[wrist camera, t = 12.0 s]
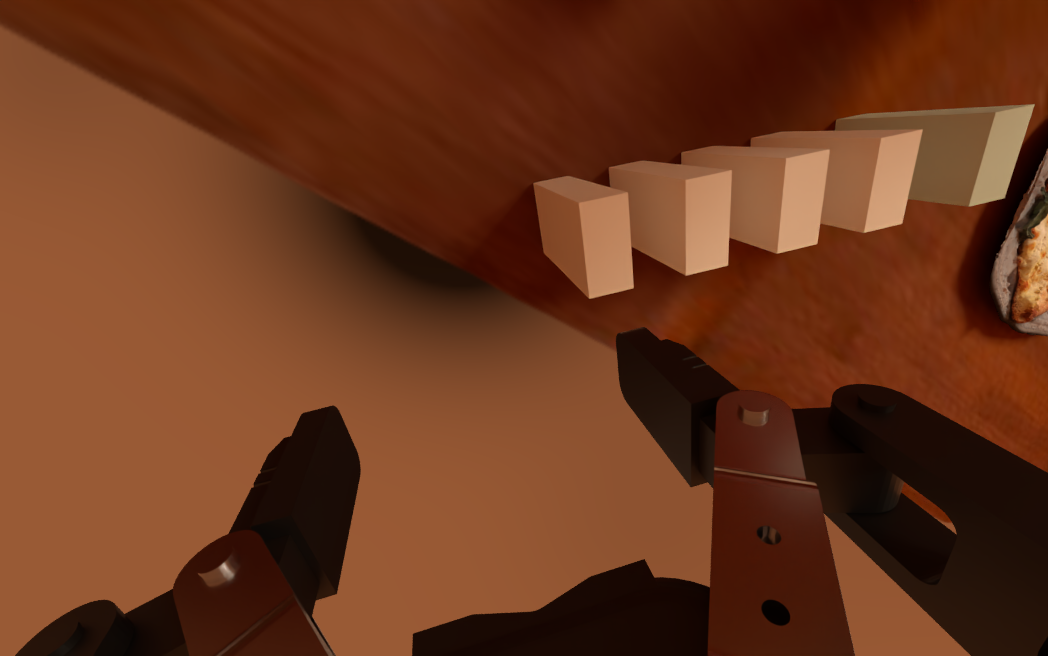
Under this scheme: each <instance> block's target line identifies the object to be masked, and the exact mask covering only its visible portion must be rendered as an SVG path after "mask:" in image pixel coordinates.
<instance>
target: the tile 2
mask: <svg viewBox="0 0 1048 656" xmlns="http://www.w3.org/2000/svg"><path fill="white" fill-rule="evenodd" d="M609 178H610V188H614V189H617V190H621V191H625V192H628V200H629V217H630V234H631V246H632V247H633V248H635V249H637V250H639V251H641V252H643V253H645V254H646V255H648V256H650V257H652V258H654V259H656V260H658V261H659V262H661V263H663V264H665V265H667V266H669V267H671V268H672V269H674V270H676V271H678V272H680V273H682V274H684V275H685V276H687V275H691V274H695V273H699V272H703V271H707V270H711V269H716V268H720V267H724V266H728V252H729V229H730V205H731V182H732V170H726V169H717V168H708V167H698V166H689V165H680V164H670V163H661V162H652V161H637V162H632V163H627V164H622V165H618V166H613V167H609Z"/></svg>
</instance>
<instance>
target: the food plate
mask: <svg viewBox="0 0 1048 656" xmlns="http://www.w3.org/2000/svg"><path fill="white" fill-rule="evenodd" d="M1038 168H1039V169H1038V171H1036V175H1035V177H1034V180H1032V183H1031V185H1030V186H1029V189H1028V191H1027V192H1026V193H1025V194H1024V195H1023V200H1022V201H1021V202H1020V205H1019V207H1018V209H1017V212H1016V214H1015V215H1014V220H1013V222H1012V225H1010V227H1009V230H1007V231H1008V233H1007V235H1006V240H1005V241H1004V242H1003V244H1002V245H1001V246H1002V247H1001V250H1000V251H999V253H997V256H998V255H999V256H998V257H997V256H996V259H995V260H996V261H995V264H994V266H993V270H992V273H991V274H990V279H991V280H990V283H989V286H990V293H991V296H992V297H993V301H994V303H995V306H996V308H997V309H996V310H998V311H997V312H998V314H999V315H998V316H1000V320H1001V321H1003V322H1005V323H1008V324H1009V326H1010V327H1011V328H1012V329H1013V330H1015V331H1017V332H1020V333H1027V334H1029V335H1035V334H1036V335H1042V336H1048V149H1047V150H1046V154H1045V156H1044V157H1043V161H1042V162H1041V164H1040V165H1039V167H1038Z"/></svg>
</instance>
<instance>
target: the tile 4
mask: <svg viewBox="0 0 1048 656" xmlns="http://www.w3.org/2000/svg"><path fill="white" fill-rule="evenodd" d="M922 131H923V129H910V130H851V131H791V132H778V133H773V134H768V135H763V136H758V137H753V138H751V147H775V148H811V149H830V153H829V161H828V168H827V175H826V183H825V190H824V198H823V205H822V212H821V220H820V223H821V224H826V225H831V226H835V227H840V228H844V229H849V230H853V231H858V232H863V233H865V232H869V231H874V230H878V229H882V228H886V227H890V226H894V225H899V224H902V222H903V217H904V213H905V208H906V204H907V199H908V194H909V190H910V185H911V181H912V176H913V172H914V167H915V163H916V158H917V154H918V149H919V144H920V140H921V135H922Z"/></svg>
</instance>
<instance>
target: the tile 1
mask: <svg viewBox="0 0 1048 656" xmlns="http://www.w3.org/2000/svg"><path fill="white" fill-rule="evenodd" d="M533 186H534V192H535V199H536V205H537V212H538V218H539V225H540V231H541V238H542V244H543V251H544V254H545V255H546V256H547V257H548V258H549V259H550V260H551V261H552V262H553V263H554V264H555V265H556V266H557V267H558V268H559V269H560V270H561V271H562V272H563V273H564V274H565V275H566V276H567V277H568V278H569V279H570V280H571V281H572V282H573V283H574V284H575V285H576V286H577V287H578V288H579V289H580V290H581V291H582V292H583V293H584V294H585V295H586V296H587V297H588V298H589V299H591V298H595V297H599V296H603V295H608V294H612V293H616V292H620V291H624V290H628V289H633V288H634V284H633V267H632V250H631V234H630V217H629V200H628V192H625V191H621V190H617V189H614V188H610V187H607V186H603V185H599V184H596V183H592V182H589V181H585V180H581V179H578V178H574V177H570V176H564V177H559V178H555V179H550V180H545V181H540V182H535V183H533Z"/></svg>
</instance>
